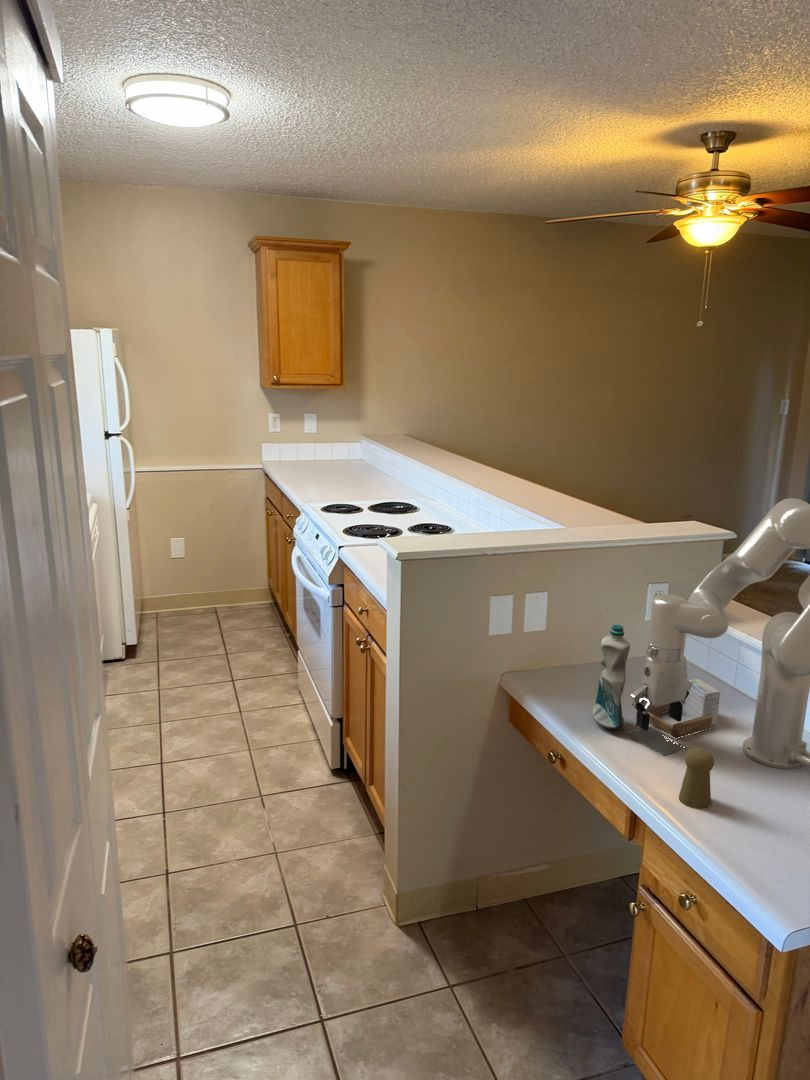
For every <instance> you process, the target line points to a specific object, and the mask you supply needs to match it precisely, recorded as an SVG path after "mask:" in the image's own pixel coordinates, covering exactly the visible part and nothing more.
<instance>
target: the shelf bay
mask: <svg viewBox="0 0 810 1080" xmlns="http://www.w3.org/2000/svg"><path fill="white" fill-rule="evenodd" d="M646 704H647V702H645V703H644V704H643V706H644V707H645V706H646ZM669 707H670V704H666V705H662V706H652V707H651V709H650V710H649V712H648V713H649V714H650V720H649V724H650V725H649V726H651V725H652V726H653V727H652V726H651V727H652V728H654V727H655V728H654V729H656V728H658V729H660V730H662V731H664V732H666V733H668V734H670V735H671V736H673V737H675V738H678V737H681V736H685V735H688V734H692V733H695V732H698V731H702V730H705V729H709V728H711V729H712V725H713V724H712V716H710V715H705V716H702V717H698V718H694V719H688V720H684V721H680V722H677V723H673V724H670V723H669V722H668V721H665V720H663V719H662V718H660V717H658V715H661V714H660V713H662V714H664V713H663V712H666V711H669ZM666 713H667V712H666ZM657 714H658V715H657ZM636 719H637V715H636ZM711 724H712V725H711ZM658 729H657V730H658ZM660 730H659V731H660ZM709 730H710V729H709ZM705 731H706V730H705ZM702 732H703V731H702ZM695 734H696V733H695ZM692 735H693V734H692Z"/></svg>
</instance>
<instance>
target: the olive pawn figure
mask: <svg viewBox="0 0 810 1080" xmlns="http://www.w3.org/2000/svg"><path fill="white" fill-rule="evenodd" d="M684 763H685V766H686V769H685V772H684V776H683V780H682V783H681V787H680V791H679V795H678V801H679V802H680V803H681V804H683V805H684V806H686V807H688V808H690V809H695V810H705V809H707V808H710V807H711V805H712V797H711V794H712V793H711V771H712V770H713V768H714V764H715V759H714V757H713V754H712V753H710V751H708V750H705V749H703V748H691V749H689V750H688V751H687V752H686V753H685V755H684Z"/></svg>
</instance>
